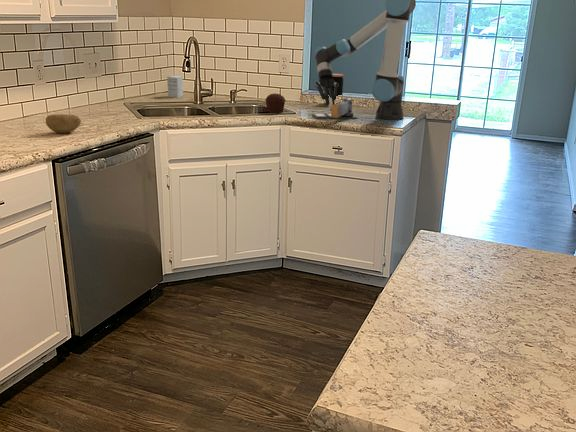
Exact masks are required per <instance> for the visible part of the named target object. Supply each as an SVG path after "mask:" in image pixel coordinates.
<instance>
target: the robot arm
mask: <svg viewBox="0 0 576 432" xmlns="http://www.w3.org/2000/svg"><path fill="white" fill-rule="evenodd" d="M416 1H417V0H385V4H384V7H385V11H383V12H382V13H380V14H379V15H378V16H377V17H375V18H374V19H372V20H371V21H369V23H367V24H366V25H365V26H364V27H362V28H361V29H359V30H358V31H357V32H356V33H354V34H353V35H351V36H350V37H349V38H347V39H344V38H343V39H340V40H337V42H335V43H333V44H331V45H330V46H328V47H326V46H319V47H317V48H316V49H315V51H314V59H315V63H316V71H317V74H318V75H317V76H318V81H316V82H315V84H314V87H315V88H316V89H317V90H318V93H319V95H320V98H321V99H322V100H324V102H325V101H326V102H325V104H326V105H327V106H328V110H329V112H331V108H332V104H334V100H335V99H336V96H337V88H338V85H339V82H337V83H336V82H335V81H334V79H333V74H334V73H333V69H332V65H331V64H332V62H334V61H335V60H337V59H340V58H343V57H346V58H347V57H351V56H352V55H354V54H355V52H356V51H358V50H359V49H360V48H362V47H363V46H364V45H365V44H367V43H368V42H369V41H371V40H372V39H374V38H375V37H377V36H378V35H379V34H381V33H382V32H384V30H385V38H384V42H383V43H384V44H383V48H382V54H381V55H382V56H381V63H380V68H379V71H377V72H376V76H375V79H374V80H375V81H374V82H373V84H372V85H371V94H372V96H373V98H374V99H375V100H377V101H379V104H378V107H377V110H376V112H375V118H378V119H383V120H390V121H391V120H395V121H397V119H399V120H403V119H404V117H405V116H404V114H405V113H404V109H403V105H402V104H403V101H402V100H403V92H404V84H405V78H404V76H403V75H399V74H398V67H399V61H400V55H401V49H402V43H403V39H404V33H405V32H404V31H405V26H406V24H407V23H409V21H410V15H411V14H412V13H413V12H414V10H415V8H416V4H417V3H416ZM333 84H334V87H335V88H334V96H333V91H332V86H333ZM327 88H328V90H329V96H330V98H329V96H328V90H327Z"/></svg>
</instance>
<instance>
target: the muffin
mask: <svg viewBox="0 0 576 432" xmlns="http://www.w3.org/2000/svg"><path fill="white" fill-rule="evenodd" d="M264 100H265V105H266V111H267V113H269V114H282V113H283V112H284V108H285V103H286V99H285V97H284V96H283V95H282V94H280V93H271V94H269V95H267V96H266V98H265V99H264Z"/></svg>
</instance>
